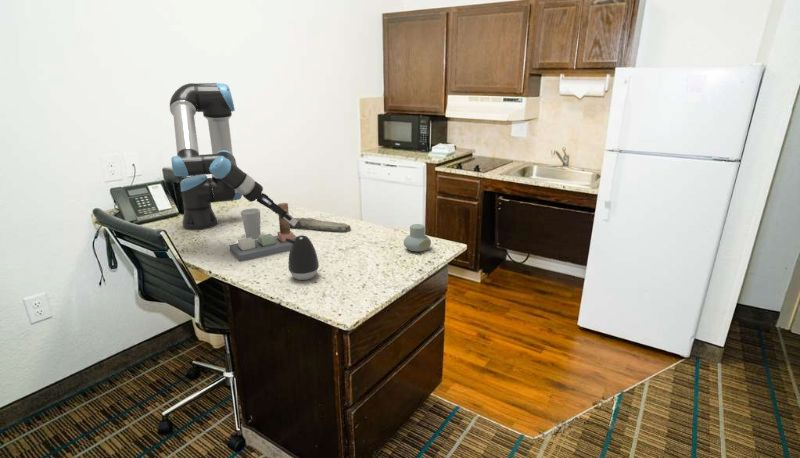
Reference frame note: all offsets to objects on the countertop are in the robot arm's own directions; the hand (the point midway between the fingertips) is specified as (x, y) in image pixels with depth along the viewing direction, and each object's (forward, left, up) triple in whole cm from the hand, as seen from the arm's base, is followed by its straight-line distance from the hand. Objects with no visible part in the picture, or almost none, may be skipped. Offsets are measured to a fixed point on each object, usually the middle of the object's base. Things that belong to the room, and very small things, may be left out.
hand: (293, 222), depth 178 cm
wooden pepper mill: (0, -4, -4) cm, 5 cm away
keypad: (0, -12, -9) cm, 15 cm away
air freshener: (+36, +37, -10) cm, 52 cm away
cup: (-18, -12, -10) cm, 24 cm away
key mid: (0, -12, -7) cm, 14 cm away
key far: (0, -4, -7) cm, 8 cm away
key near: (0, -20, -7) cm, 21 cm away
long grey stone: (-15, +16, -10) cm, 24 cm away
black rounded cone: (+34, -11, -10) cm, 37 cm away
